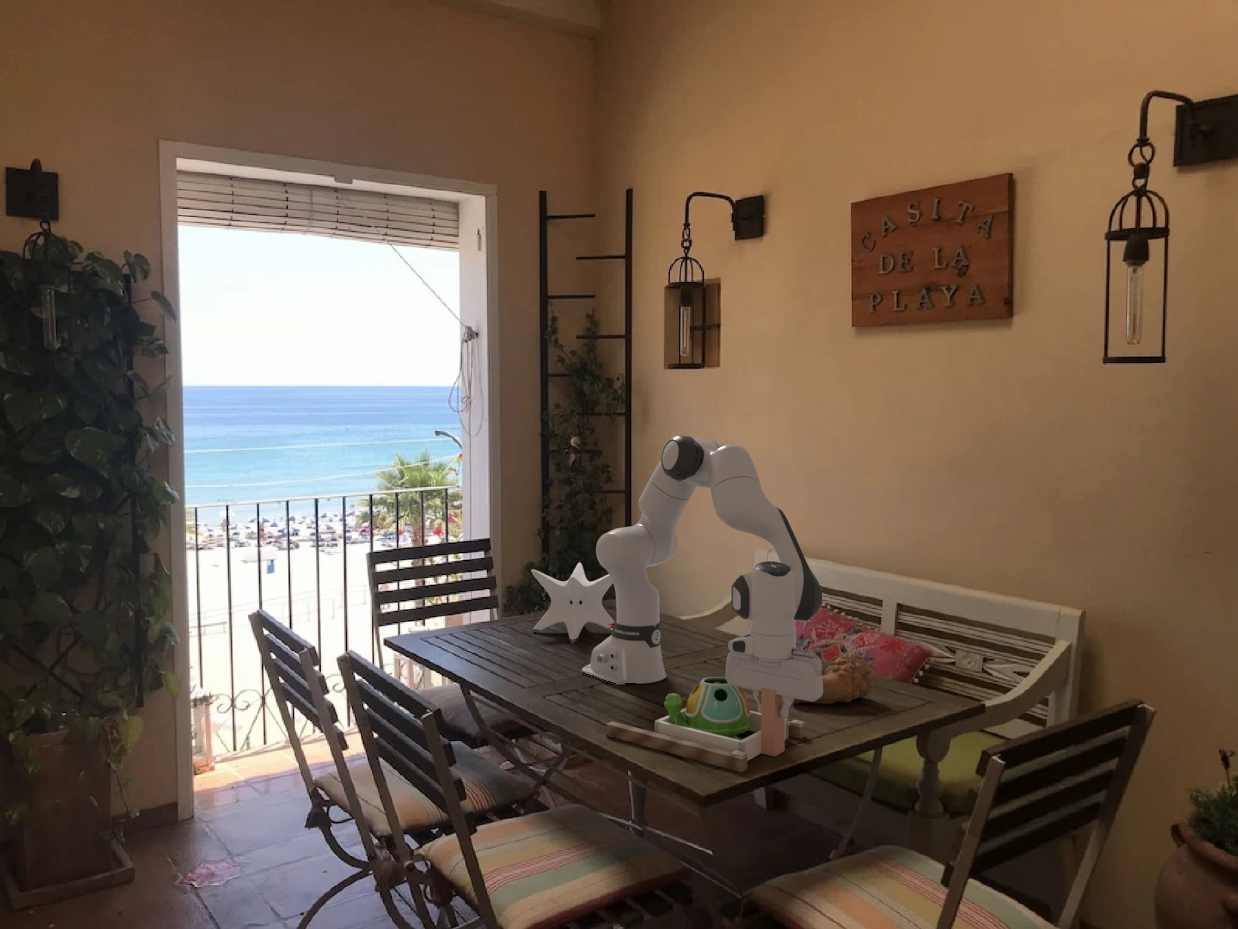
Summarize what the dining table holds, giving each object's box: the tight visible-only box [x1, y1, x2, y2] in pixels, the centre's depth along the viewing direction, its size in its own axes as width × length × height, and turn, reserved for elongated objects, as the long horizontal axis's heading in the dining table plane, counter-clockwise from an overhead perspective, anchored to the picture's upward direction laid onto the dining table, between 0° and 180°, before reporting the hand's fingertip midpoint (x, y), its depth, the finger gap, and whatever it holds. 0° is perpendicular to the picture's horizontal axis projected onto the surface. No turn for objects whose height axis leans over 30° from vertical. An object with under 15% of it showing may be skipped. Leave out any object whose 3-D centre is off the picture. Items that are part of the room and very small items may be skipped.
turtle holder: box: [663, 676, 751, 740], centre depth 194 cm, size 12×18×12 cm
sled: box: [654, 688, 789, 762], centre depth 191 cm, size 24×18×13 cm
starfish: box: [530, 562, 615, 640], centre depth 289 cm, size 20×20×20 cm
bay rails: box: [605, 696, 806, 773], centre depth 195 cm, size 33×25×3 cm
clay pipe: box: [792, 652, 875, 705], centre depth 219 cm, size 19×11×15 cm
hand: (773, 714), depth 184 cm, fingers closed on sled, 3 cm apart
